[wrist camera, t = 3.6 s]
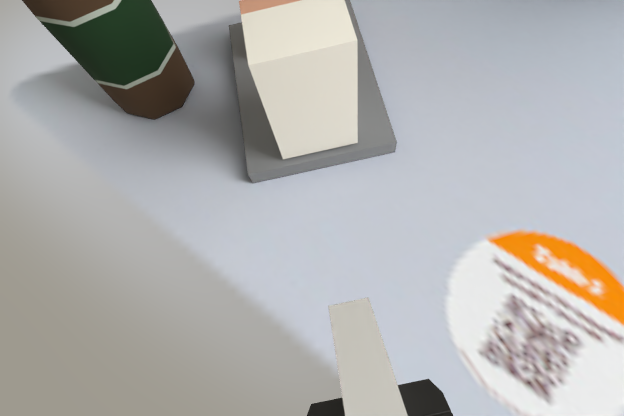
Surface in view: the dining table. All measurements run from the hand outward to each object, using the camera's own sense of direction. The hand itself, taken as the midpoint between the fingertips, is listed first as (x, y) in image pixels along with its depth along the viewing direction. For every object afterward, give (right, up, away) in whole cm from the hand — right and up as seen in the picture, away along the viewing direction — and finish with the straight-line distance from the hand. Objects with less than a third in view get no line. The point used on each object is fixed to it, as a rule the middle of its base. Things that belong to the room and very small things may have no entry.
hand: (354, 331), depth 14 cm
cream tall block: (-1, +11, +16) cm, 19 cm away
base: (-2, +16, +20) cm, 25 cm away
